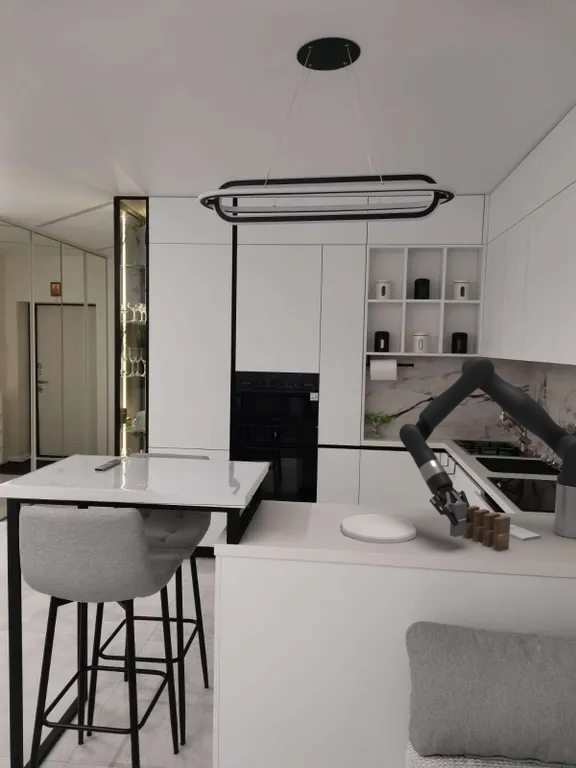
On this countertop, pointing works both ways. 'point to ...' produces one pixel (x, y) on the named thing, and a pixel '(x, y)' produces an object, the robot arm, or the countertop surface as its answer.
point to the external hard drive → (522, 533)
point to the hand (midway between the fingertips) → (463, 523)
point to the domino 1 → (459, 519)
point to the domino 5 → (501, 533)
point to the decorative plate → (378, 528)
